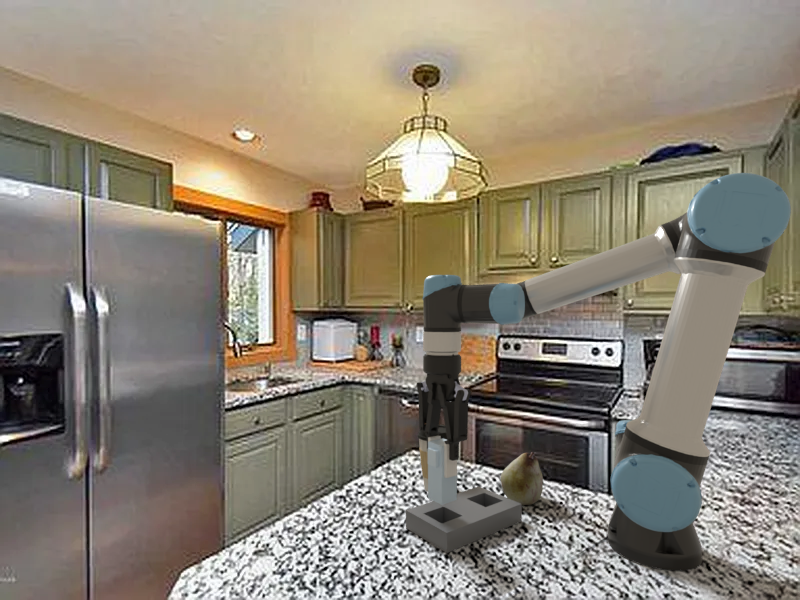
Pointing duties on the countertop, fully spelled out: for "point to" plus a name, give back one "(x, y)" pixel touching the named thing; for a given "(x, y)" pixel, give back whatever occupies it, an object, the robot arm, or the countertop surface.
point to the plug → (439, 475)
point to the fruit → (523, 479)
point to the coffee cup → (424, 452)
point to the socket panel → (463, 518)
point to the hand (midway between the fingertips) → (442, 472)
